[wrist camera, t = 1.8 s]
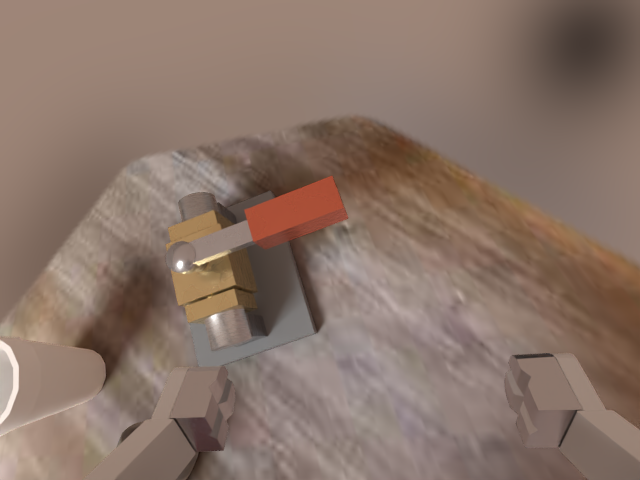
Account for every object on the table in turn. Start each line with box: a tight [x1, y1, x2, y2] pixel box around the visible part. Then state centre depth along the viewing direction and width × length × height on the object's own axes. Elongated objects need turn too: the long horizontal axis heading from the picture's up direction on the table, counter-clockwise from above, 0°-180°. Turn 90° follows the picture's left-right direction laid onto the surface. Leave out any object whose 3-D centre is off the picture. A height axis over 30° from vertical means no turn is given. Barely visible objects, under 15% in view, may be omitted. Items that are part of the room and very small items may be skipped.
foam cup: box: [0, 337, 106, 436], centre depth 43 cm, size 10×9×13 cm
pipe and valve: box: [166, 192, 268, 351], centre depth 41 cm, size 6×16×11 cm, turn 18°
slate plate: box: [189, 190, 317, 367], centre depth 47 cm, size 14×18×2 cm
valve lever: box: [166, 176, 348, 274], centre depth 34 cm, size 16×3×3 cm, turn 108°
